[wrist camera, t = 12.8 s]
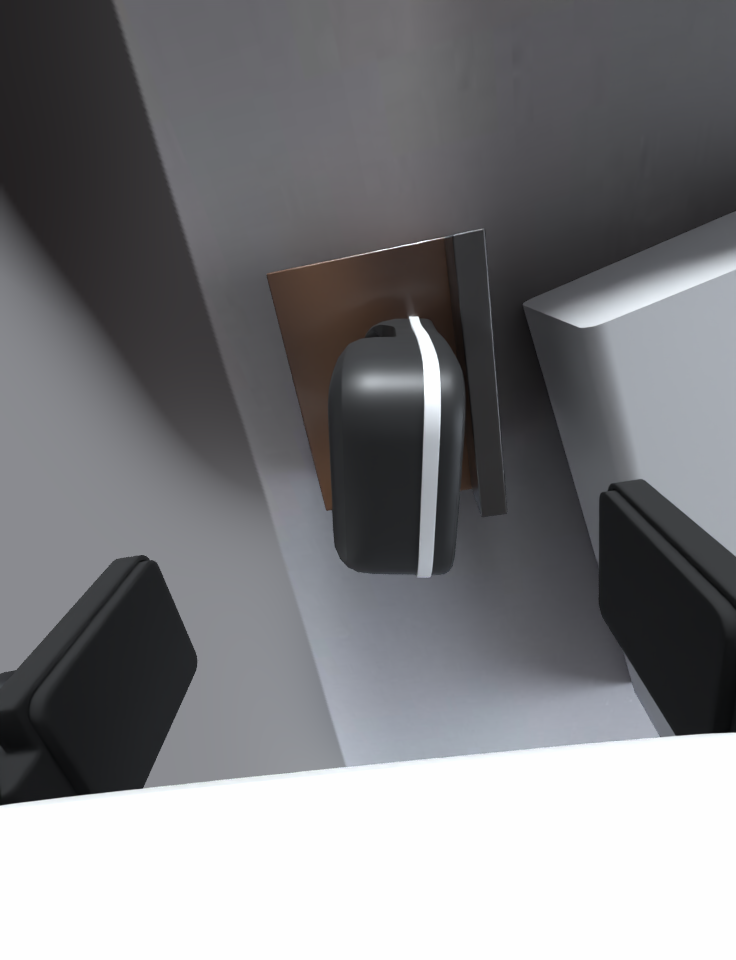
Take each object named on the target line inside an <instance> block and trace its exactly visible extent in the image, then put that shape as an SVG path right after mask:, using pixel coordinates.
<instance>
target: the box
mask: <svg viewBox="0 0 736 960" xmlns="http://www.w3.org/2000/svg"><path fill="white" fill-rule="evenodd" d="M523 308H524V311H525V315H526V318H527V321H528V325H529V328H530V332H531V335H532V339H533V342H534V346H535V349H536V353H537V356H538V359H539V363H540V366H541V370H542V373H543V377H544V380H545V384H546V387H547V391H548V394H549V397H550V401H551V404H552V408H553V411H554V415H555V418H556V422H557V425H558V429H559V432H560V435H561V439H562V442H563V446H564V449H565V453H566V456H567V460H568V463H569V467H570V470H571V473H572V477H573V480H574V484H575V487H576V491H577V494H578V498H579V501H580V505H581V508H582V511H583V515H584V518H585V522H586V525H587V529H588V532H589V536H590V539H591V542H592V546H593V549H594V553H595V556H596V560H597V563H598V567H599V497H600V494H601V493H602V492H606V491H608V487H609V485H610V484H611V483H617V482H624V481H631V480H637V479H643V480H645V481H646V482H648V483H649V484H650V485H651V486H652V487H653V488H655V489H656V490H657V491H658V492H659V493H661V494H662V495H663V496H664V497H665V498H667V499H668V500H669V501H670V502H671V503H673V504H674V505H675V506H676V507H677V508H679V509H680V510H681V511H682V512H683V513H685V514H686V515H687V516H688V517H689V518H690V519H692V520H693V521H694V522H695V523H696V524H698V525H699V526H700V527H701V528H702V529H704V530H705V531H706V532H707V533H708V534H710V535H711V536H712V537H713V538H714V539H716V540H717V541H718V542H719V543H720V544H722V545H723V546H724V547H725V548H726V549H727V550H729V551H730V552H731V553H732V554H733V555H735V556H736V211H734V212H732V213H730V214H727V215H725V216H723V217H720V218H718V219H716V220H713V221H711V222H709V223H706V224H704V225H702V226H699V227H697V228H695V229H692V230H690V231H688V232H685V233H683V234H681V235H678V236H676V237H674V238H671V239H669V240H667V241H664V242H662V243H660V244H657V245H655V246H653V247H650V248H648V249H646V250H643V251H641V252H639V253H636V254H634V255H632V256H629V257H627V258H625V259H622V260H620V261H618V262H615V263H613V264H611V265H608V266H606V267H604V268H601V269H599V270H597V271H595V272H592V273H590V274H588V275H585V276H583V277H581V278H578V279H576V280H574V281H571V282H569V283H567V284H564V285H562V286H560V287H557V288H555V289H553V290H550V291H548V292H546V293H543V294H541V295H539V296H536V297H534V298H532V299H530V300H528V301H526V302H524V303H523ZM623 653H624V651H623ZM624 656H625V660H626V663H627V667H628V670H629V674H630V677H631V681H632V684H633V688H634V691H635V693H636V695H637V697H638V698H639V700H640V702H641V704H642V706H643V707H644V709H645V711H646V713H647V715H648V716H649V718H650V720H651V722H652V723H653V725H654V727H655V729H656V731H657V732H658V734H659V736H660V737H670V736H675V734H674V732H673V731H672V729H671V727H670V726H669V724H668V723H667V721H666V719H665V718H664V716H663V714H662V713H661V711H660V710H659V708H658V706H657V705H656V703H655V702H654V700H653V698H652V697H651V695H650V693H649V692H648V690H647V689H646V687H645V685H644V684H643V682H642V680H641V679H640V677H639V676H638V674H637V672H636V671H635V669H634V668H633V666H632V664H631V663H630V661H629V659H628V658H627V656H626V655H625V653H624Z"/></svg>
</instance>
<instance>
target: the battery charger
mask: <svg viewBox="0 0 736 960" xmlns="http://www.w3.org/2000/svg"><path fill="white" fill-rule="evenodd" d="M328 427H329V448H330V471H331V490H332V512H333V531H334V543H335V548H336V550H337V552H338V555H339V557H340V559H341V560H342V561H343V562H344V563H345V564H346V565H347V567H349V568H351V569H353V570H355V571H357V572H362V573H370V574H414V575H416V577H419V578H430V577H431V575H441V574H445V573H447V572H449V571H450V569H451V568H452V566H453V562H454V557H455V548H456V537H457V525H458V513H459V500H460V487H461V474H462V460H463V446H464V431H465V384H464V377H463V372H462V369H461V366H460V364H459V362H458V360H457V358H456V356H455V355H454V353H453V351H452V349H451V347H450V346H449V344H448V343H447V341H446V340H445V339H444V338H443V337H442V336H441V335H440V334H439V333H438V332H437V330H436V329H435V327H434V325H433V323H432V321H431V320H429V319H419V317H409V319H392V320H388V321H383V322H380V323H378V324H376V325H374V326H373V327H371V328H370V329H369V330H368V332H367V333H366V335H365V338H363V339H359V340H357V341H354V342H352V343H350V344H348V346H347V347H346V348H345V349H344V351H343V352H342V354H341V355H340V356H339V358H338V360H337V362H336V365H335V367H334V370H333V373H332V377H331V381H330V386H329V394H328Z"/></svg>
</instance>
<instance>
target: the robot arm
mask: <svg viewBox="0 0 736 960" xmlns="http://www.w3.org/2000/svg"><path fill="white" fill-rule="evenodd" d="M599 607H600V611H601V614H602V617H603V619H604V621H605V622H606V624H607V625H608V627H609V629H610V630H611V632H612V634H613V635H614V637H615V638H616V640H617V642H618V643H619V645H620V646H621V648H622V650H623V651H624V653H625V655H626V656H627V658H628V659H629V661H630V663H631V664H632V666H633V668H634V669H635V671H636V672H637V674H638V676H639V677H640V679H641V680H642V682H643V684H644V685H645V687H646V689H647V690H648V692H649V693H650V695H651V697H652V698H653V700H654V702H655V703H656V705H657V706H658V708H659V710H660V711H661V713H662V714H663V716H664V718H665V719H666V721H667V723H668V724H669V726H670V727H671V729H672V731H673V732H674V734H675V736H670V737H658V738H646V739H634V740H622V741H609V742H597V743H586V744H575V745H565V746H555V747H544V748H534V749H524V750H513V751H503V752H493V753H482V754H472V755H462V756H451V757H441V758H431V759H420V760H411V761H401V762H391V763H381V764H371V765H361V766H352V767H342V768H333V769H322V770H313V771H304V772H293V773H284V774H274V775H264V776H255V777H246V778H236V779H226V780H217V781H208V782H199V783H189V784H180V785H171V786H162V787H153V788H144V789H143V787H144V785H145V782H146V780H147V778H148V776H149V773H150V771H151V769H152V767H153V765H154V762H155V760H156V758H157V756H158V753H159V751H160V749H161V747H162V745H163V743H164V740H165V738H166V736H167V734H168V732H169V729H170V727H171V725H172V723H173V720H174V718H175V716H176V713H177V712H178V709H179V707H180V705H181V703H182V700H183V698H184V696H185V694H186V692H187V689H188V687H189V685H190V683H191V681H192V678H193V676H194V674H195V671H196V668H197V656H196V652H195V650H194V648H193V645H192V643H191V641H190V638H189V636H188V634H187V631H186V629H185V627H184V624H183V622H182V620H181V617H180V615H179V613H178V610H177V608H176V606H175V603H174V601H173V599H172V596H171V594H170V592H169V589H168V587H167V585H166V583H165V580H164V578H163V575H162V573H161V571H160V569H159V566H158V564H157V563H156V562H155V561H153V560H149V558H148V557H146V556H144V555H140V556H133V557H126V558H120V559H116V560H115V561H113V562H112V563H111V565H109V567H108V568H107V569H106V570H105V571H104V572H103V573H102V574H101V576H100V577H99V578H98V579H97V580H96V581H95V582H94V583H93V585H92V586H91V587H90V588H89V589H88V590H87V591H86V592H85V594H84V595H83V596H82V597H81V598H80V599H79V600H78V602H77V603H76V604H75V605H74V606H73V607H72V608H71V609H70V610H69V612H68V613H67V614H66V615H65V616H64V617H63V618H62V620H61V621H60V622H59V623H58V624H57V625H56V626H55V627H54V628H53V630H52V631H51V632H50V633H49V634H48V635H47V636H46V638H45V639H44V640H43V641H42V642H41V643H40V644H39V645H38V646H37V648H36V649H35V650H34V651H33V652H32V653H31V655H29V657H28V658H27V659H26V660H25V661H24V662H23V663H22V664H21V666H20V667H19V668H18V669H17V670H16V671H15V672H14V673H13V675H12V676H11V677H10V678H9V679H8V680H7V681H6V682H5V684H4V685H3V686H2V687H1V688H0V960H736V556H735V555H733V554H732V553H731V552H730V551H729V550H727V549H726V548H725V547H724V546H723V545H722V544H720V543H719V542H718V541H717V540H716V539H714V538H713V537H712V536H711V535H710V534H708V533H707V532H706V531H705V530H704V529H702V528H701V527H700V526H699V525H698V524H696V523H695V522H694V521H693V520H692V519H690V518H689V517H688V516H687V515H686V514H685V513H683V512H682V511H681V510H680V509H679V508H677V507H676V506H675V505H674V504H673V503H671V502H670V501H669V500H668V499H667V498H665V497H664V496H663V495H662V494H661V493H659V492H658V491H657V490H656V489H655V488H653V487H652V486H651V485H650V484H649V483H648V482H646V481H645V480H643V479H637V480H631V481H624V482H617V483H611V484H610V485H609V487H608V491H606V492H602V493H601V494H600V497H599Z"/></svg>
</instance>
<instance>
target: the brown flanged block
mask: <svg viewBox="0 0 736 960" xmlns="http://www.w3.org/2000/svg"><path fill="white" fill-rule="evenodd" d="M267 279H268V283H269V287H270V291H271V295H272V299H273V303H274V307H275V311H276V315H277V319H278V323H279V327H280V330H281V334H282V338H283V342H284V346H285V350H286V354H287V358H288V362H289V366H290V370H291V374H292V378H293V382H294V386H295V390H296V394H297V398H298V401H299V405H300V409H301V413H302V417H303V421H304V425H305V429H306V433H307V437H308V441H309V445H310V449H311V453H312V457H313V461H314V465H315V469H316V473H317V476H318V480H319V484H320V488H321V492H322V496H323V500H324V504H325V508H326V510H327V511H328V510H332V490H331V471H330V448H329V427H328V394H329V386H330V381H331V377H332V373H333V370H334V367H335V365H336V362H337V360H338V358H339V356H340V355H341V354H342V352H343V351H344V349H345V348H346V347H347V346H348V344H350V343H352V342H354V341H357V340H359V339H363V338H365V335H366V333H367V332H368V330H369V329H370V328H371V327H373V326H374V325H376V324H378V323H380V322H383V321H388V320H392V319H409V317H419V319H429V320H431V321H432V323H433V325H434V327H435V329H436V330H437V332H438V333H439V334H440V335H441V336H442V337H443V338H444V339H445V340H446V341H447V343H448V344H449V346H450V347H451V349H452V351H453V353H454V355H455V356H456V358H457V360H458V362H459V364H460V366H461V369H462V372H463V377H464V384H465V431H464V446H463V460H462V474H461V487H460V491H462V490H468V489H472V491H473V494H474V497H475V499H476V502H477V505H478V508H479V511H480V514H481V516H482V517H487V516H494V515H501V514H507V502H506V489H505V476H504V464H503V451H502V438H501V426H500V413H499V400H498V388H497V375H496V362H495V350H494V337H493V324H492V311H491V299H490V286H489V273H488V261H487V248H486V235H485V229H484V228H482V229H477V230H472V231H467V232H462V233H458V234H453V235H449V236H445V237H440V238H435V239H431V240H426V241H421V242H416V243H411V244H407V245H402V246H397V247H392V248H387V249H382V250H378V251H373V252H368V253H363V254H358V255H354V256H349V257H344V258H339V259H334V260H330V261H325V262H320V263H315V264H310V265H305V266H301V267H296V268H291V269H286V270H281V271H277V272H272V273H268V274H267Z"/></svg>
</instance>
